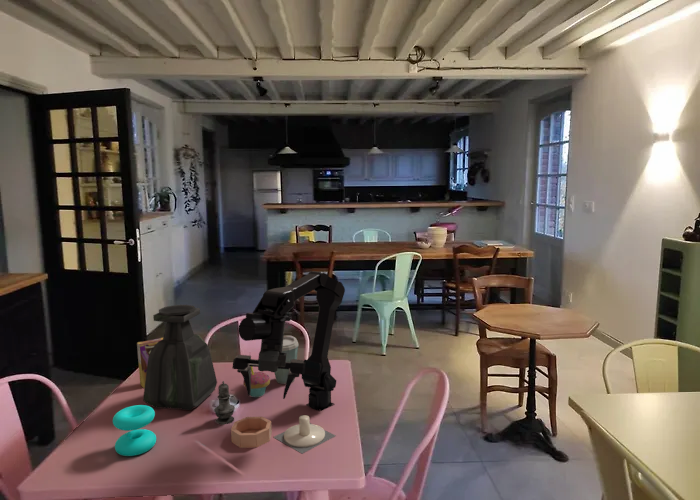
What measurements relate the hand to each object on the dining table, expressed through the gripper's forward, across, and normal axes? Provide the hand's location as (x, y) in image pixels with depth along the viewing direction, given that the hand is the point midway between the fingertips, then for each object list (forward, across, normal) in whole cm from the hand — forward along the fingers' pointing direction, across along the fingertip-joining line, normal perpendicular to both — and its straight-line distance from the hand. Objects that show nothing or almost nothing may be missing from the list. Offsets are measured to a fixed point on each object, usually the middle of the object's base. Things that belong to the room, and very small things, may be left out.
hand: (266, 397), depth 127 cm
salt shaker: (+12, -12, +15) cm, 22 cm away
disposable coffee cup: (+6, +3, +42) cm, 42 cm away
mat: (+11, +11, +2) cm, 16 cm away
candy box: (+11, -42, +44) cm, 62 cm away
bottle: (+11, -28, +30) cm, 43 cm away
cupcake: (+8, -5, +32) cm, 33 cm away
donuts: (+16, -32, +2) cm, 36 cm away
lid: (+10, +11, +2) cm, 15 cm away
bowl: (+12, -3, +3) cm, 13 cm away
